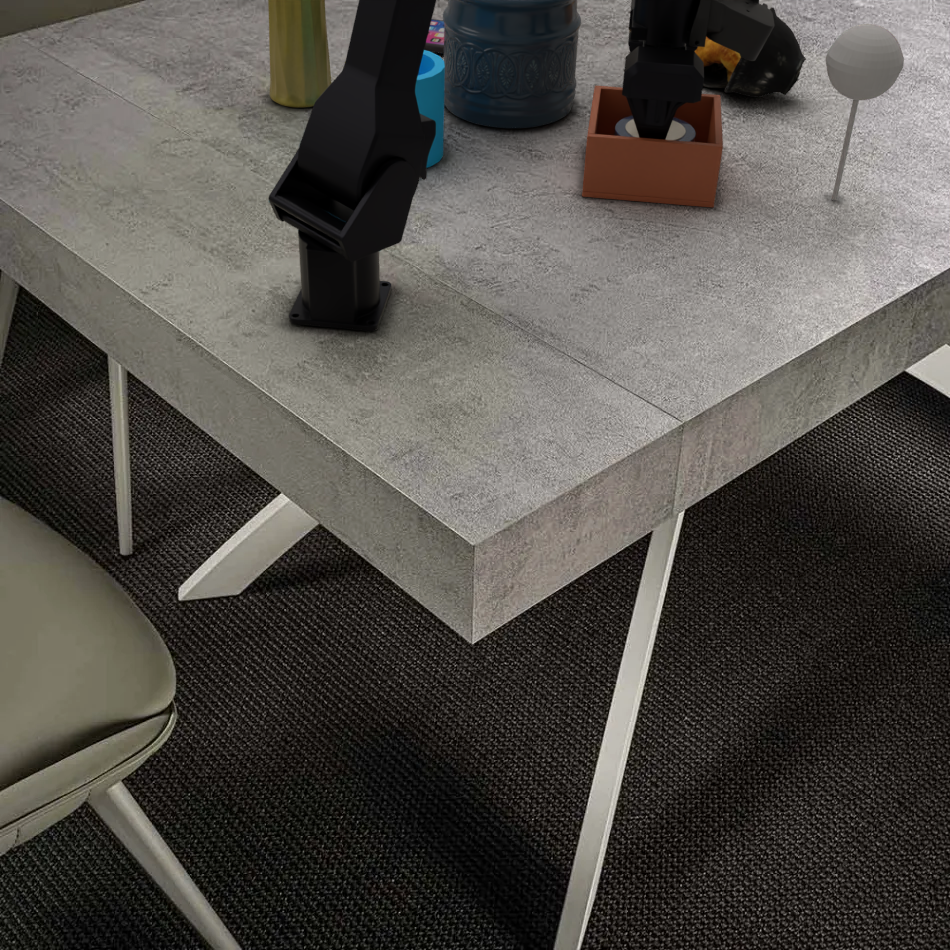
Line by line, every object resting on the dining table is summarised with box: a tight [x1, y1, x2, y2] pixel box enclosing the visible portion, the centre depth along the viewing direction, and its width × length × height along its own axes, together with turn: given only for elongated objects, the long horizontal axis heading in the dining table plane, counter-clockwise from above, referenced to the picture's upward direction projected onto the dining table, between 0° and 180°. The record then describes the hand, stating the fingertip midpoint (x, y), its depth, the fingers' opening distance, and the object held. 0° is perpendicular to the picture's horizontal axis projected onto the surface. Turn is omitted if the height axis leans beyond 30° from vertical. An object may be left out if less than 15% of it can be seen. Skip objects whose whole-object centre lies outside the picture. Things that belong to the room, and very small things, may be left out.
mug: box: [415, 50, 445, 169], centre depth 117 cm, size 12×8×8 cm
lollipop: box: [825, 23, 905, 202], centre depth 108 cm, size 6×6×15 cm
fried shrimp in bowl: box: [627, 6, 807, 98], centre depth 130 cm, size 9×11×18 cm
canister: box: [442, 0, 582, 129], centre depth 121 cm, size 13×13×18 cm
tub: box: [581, 84, 724, 209], centre depth 114 cm, size 11×11×6 cm
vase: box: [267, 0, 332, 109], centre depth 123 cm, size 6×6×14 cm
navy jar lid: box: [614, 116, 696, 142], centre depth 114 cm, size 7×7×2 cm
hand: (652, 140), depth 114 cm, fingers closed on navy jar lid, 7 cm apart
